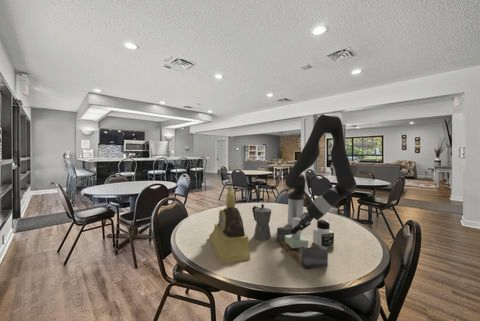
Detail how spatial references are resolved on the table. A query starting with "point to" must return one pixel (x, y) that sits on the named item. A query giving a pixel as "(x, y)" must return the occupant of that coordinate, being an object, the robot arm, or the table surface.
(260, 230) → the coffeepot
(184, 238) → the table surface
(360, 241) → the table surface
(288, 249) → the rail
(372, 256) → the table surface
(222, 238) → the decorative clock
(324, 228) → the medicine bottle
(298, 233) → the carriage
